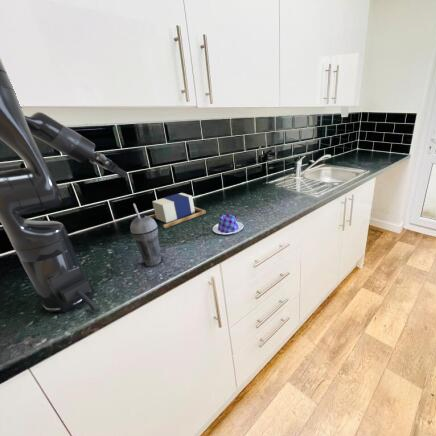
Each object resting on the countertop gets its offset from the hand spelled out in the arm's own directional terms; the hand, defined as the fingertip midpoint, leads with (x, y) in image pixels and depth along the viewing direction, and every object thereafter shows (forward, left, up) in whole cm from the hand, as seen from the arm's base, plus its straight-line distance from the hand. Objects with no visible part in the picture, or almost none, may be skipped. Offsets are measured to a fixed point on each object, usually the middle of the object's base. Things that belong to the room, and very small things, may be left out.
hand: (125, 175), depth 93 cm
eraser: (-1, -16, -22) cm, 27 cm away
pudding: (-31, -16, -22) cm, 42 cm away
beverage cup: (-25, +13, -22) cm, 36 cm away
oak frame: (-2, -16, -22) cm, 27 cm away
